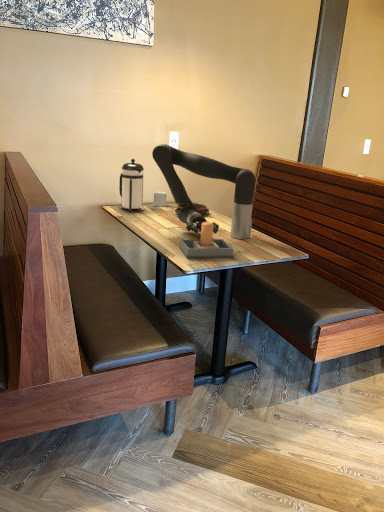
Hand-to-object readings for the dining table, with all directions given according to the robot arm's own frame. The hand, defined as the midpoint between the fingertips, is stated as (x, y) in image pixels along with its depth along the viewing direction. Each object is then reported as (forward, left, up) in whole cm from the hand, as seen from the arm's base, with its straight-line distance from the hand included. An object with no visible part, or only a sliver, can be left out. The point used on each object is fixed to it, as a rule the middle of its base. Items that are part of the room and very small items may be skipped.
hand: (206, 231), depth 180 cm
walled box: (0, +1, -9) cm, 9 cm away
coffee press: (+23, -83, -10) cm, 86 cm away
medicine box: (+3, -93, -10) cm, 93 cm away
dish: (-13, -73, -10) cm, 75 cm away
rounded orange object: (0, +1, -8) cm, 8 cm away
